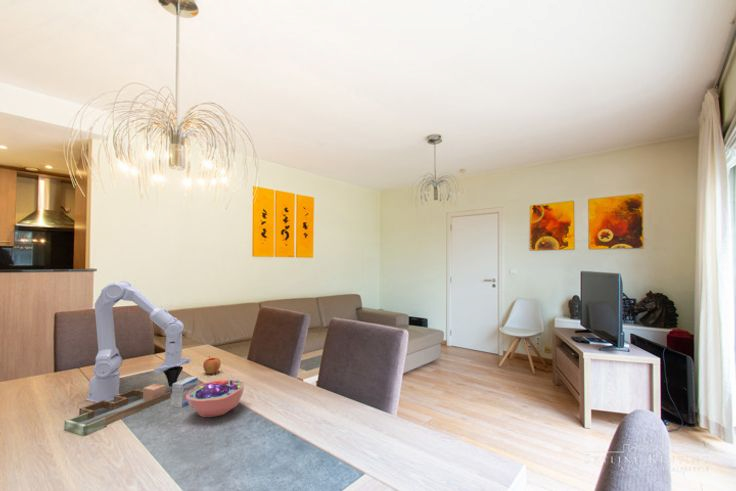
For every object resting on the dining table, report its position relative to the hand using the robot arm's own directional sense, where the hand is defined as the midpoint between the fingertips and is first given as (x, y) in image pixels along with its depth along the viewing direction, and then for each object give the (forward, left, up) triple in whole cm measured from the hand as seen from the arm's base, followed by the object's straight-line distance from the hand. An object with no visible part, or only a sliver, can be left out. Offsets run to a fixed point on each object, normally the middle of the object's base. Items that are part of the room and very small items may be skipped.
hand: (172, 386), depth 133 cm
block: (0, -8, -2) cm, 8 cm away
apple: (-3, +23, -3) cm, 24 cm away
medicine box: (+13, -6, -3) cm, 14 cm away
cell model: (+29, -7, -3) cm, 30 cm away
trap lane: (-3, -19, -3) cm, 19 cm away
